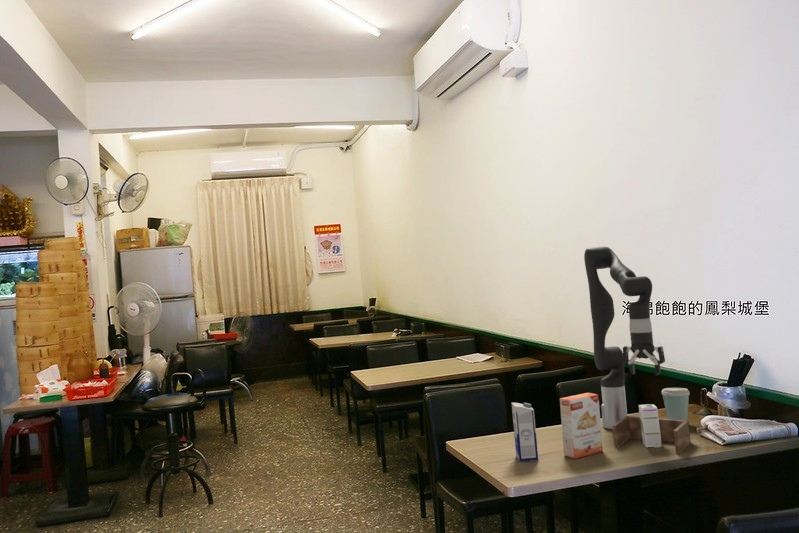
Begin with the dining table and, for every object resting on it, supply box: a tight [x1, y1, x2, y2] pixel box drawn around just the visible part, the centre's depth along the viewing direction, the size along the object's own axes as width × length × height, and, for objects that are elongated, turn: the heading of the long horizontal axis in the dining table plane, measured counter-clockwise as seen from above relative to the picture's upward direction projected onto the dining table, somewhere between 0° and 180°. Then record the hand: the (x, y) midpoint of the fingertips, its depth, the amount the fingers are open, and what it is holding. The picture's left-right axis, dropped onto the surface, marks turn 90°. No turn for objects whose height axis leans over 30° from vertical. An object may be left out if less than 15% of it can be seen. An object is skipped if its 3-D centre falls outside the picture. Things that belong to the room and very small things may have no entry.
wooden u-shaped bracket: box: [612, 415, 691, 455], centre depth 214 cm, size 22×15×8 cm
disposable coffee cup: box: [661, 387, 691, 421], centre depth 238 cm, size 11×11×15 cm
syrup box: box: [638, 403, 663, 448], centre depth 214 cm, size 6×6×14 cm
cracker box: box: [559, 392, 604, 460], centre depth 211 cm, size 14×6×21 cm, turn 117°
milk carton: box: [511, 402, 539, 462], centre depth 211 cm, size 7×7×20 cm
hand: (645, 374), depth 214 cm, fingers open, 8 cm apart
